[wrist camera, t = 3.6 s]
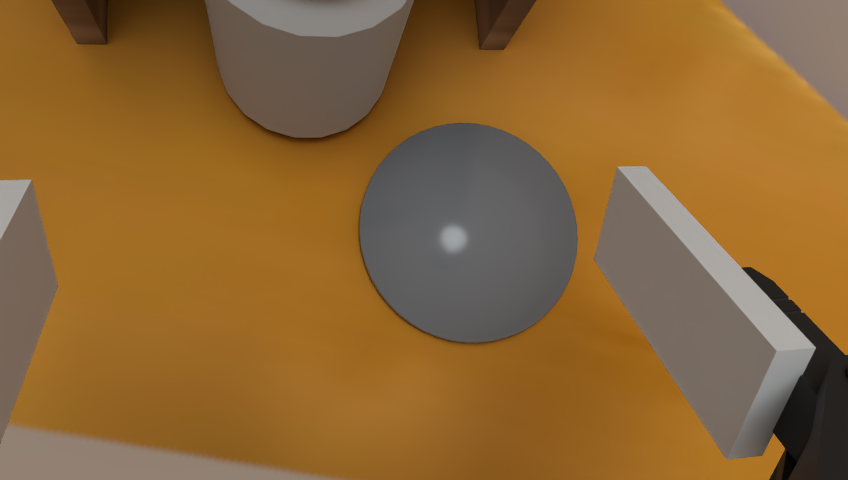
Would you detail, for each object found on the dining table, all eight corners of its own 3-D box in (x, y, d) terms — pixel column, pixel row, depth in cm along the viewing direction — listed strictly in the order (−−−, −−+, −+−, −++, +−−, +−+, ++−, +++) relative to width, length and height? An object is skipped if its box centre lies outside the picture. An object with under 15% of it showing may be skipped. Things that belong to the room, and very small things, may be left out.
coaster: (365, 351, 31) (367, 350, 30) (352, 128, 33) (353, 123, 32) (584, 335, 33) (590, 334, 32) (559, 126, 35) (564, 122, 34)
